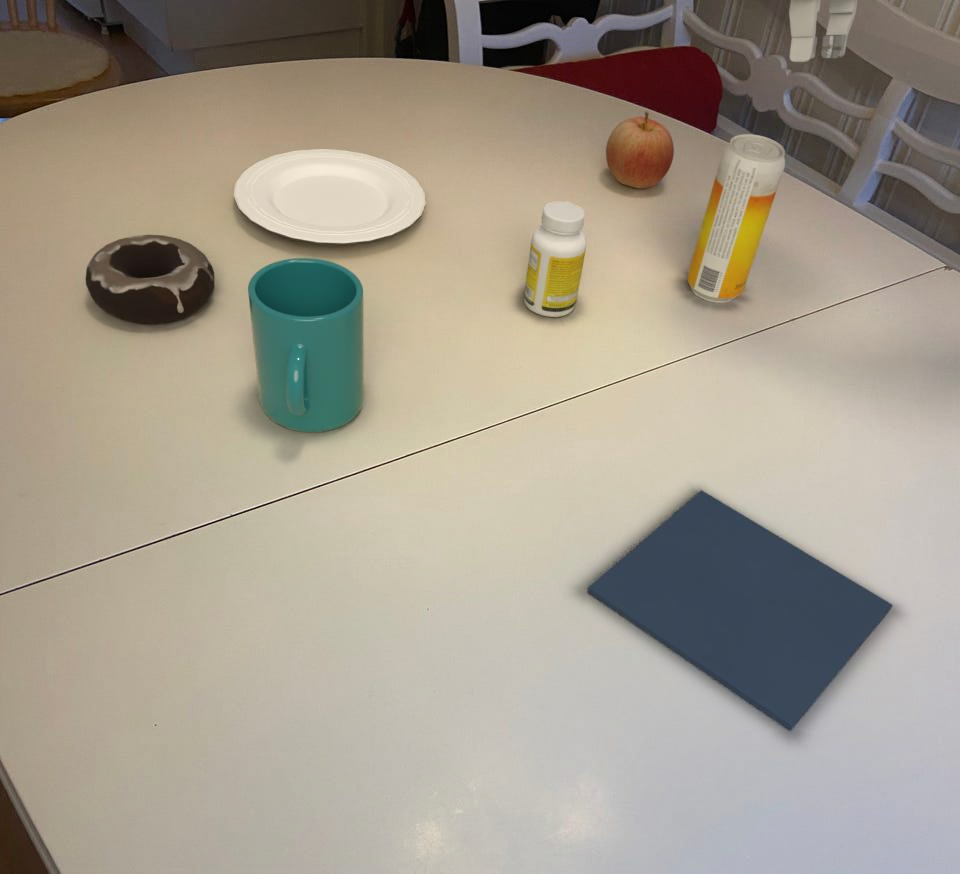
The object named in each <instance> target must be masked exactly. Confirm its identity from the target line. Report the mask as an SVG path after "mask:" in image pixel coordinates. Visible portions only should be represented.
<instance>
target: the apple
mask: <svg viewBox="0 0 960 874" xmlns="http://www.w3.org/2000/svg"><path fill="white" fill-rule="evenodd" d="M649 115H650V113H649V111H645V112H644V116H635V117H629V118H626V119H624V120H623V121H621V122H620V123H618V124H617V125H616V126H615V127H614V129H613V130H612V131H611V133H610V135H609V137H608V140H607V143H606V147H605V159H606V164H607V167H608V170H609V171H610V173H611V175H612V176H613V177H614V179H615V180H616V181H618V182H619V183H620V184H622V185H625V186H629V187H632V188H635V189H646V188H651V187H654V186H655V185H657V184H658V183H660V182H661V181H662V180H663V179H664V177H665V176H666V175H667V173H668V172H669V171H670V168H671V166H672V163H673V160H674V154H675V149H674V148H675V147H674V146H675V145H674V142H673V138H672V135H671V133H670V131H669V129H667V128H666V127H665V126H664V125H663V124H661V123H660V122H658V121H657V120H655V119H651V118H649Z"/></svg>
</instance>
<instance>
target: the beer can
mask: <svg viewBox="0 0 960 874" xmlns="http://www.w3.org/2000/svg"><path fill="white" fill-rule="evenodd" d="M785 153H786V150H785V148H784V146H783V145H782V144H780V143H779V142H778V141H775V140H773V139H772V138H769V137H767V136H763V135H758V134H753V133H744V134H737V135H735V136H733V137H732V138H731V139H730V140H729V143H728V144H727V145H726V146H725V147H724V149H723V150H722V153H721V157H720V160H719V164H718V167H717V170H716V173H715V178H714V180H713V185H712V188H711V192H710V195H709V199H708V203H707V205H706V209H705V213H704V217H703V220H702V224H701V227H700V231H699V234H698V238H697V241H696V245H695V248H694V252H693V256H692V259H691V261H690V266H689V269H688V274H687V282H688V284H689V287H690V290H691V291H692V293H693V294H694V295H695V296H696V297H698V298H700V299H702V300H704V301H707V302H711V303H716V304H717V303H718V304H721V303H722V304H723V303H728V302H731V301H733V300H735V299H736V298H737V297H738V296H740V295H741V294H742V293H743V292H744V289H745V286H746V285H747V280H748V277H749V275H750V271H751V268H752V265H753V263H754V260H755V257H756V253H757V251H758V247H759V245H760V241H761V238H762V236H763V233H764V230H765V227H766V224H767V221H768V219H769V215H770V212H771V209H772V206H773V204H774V200H775V198H776V197H775V196H776V194H777V191H778V189H779V186H780V183H781V179H782V176H783V174H784V170H785V168H786V167H785V166H786V160H785Z"/></svg>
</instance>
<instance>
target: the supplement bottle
mask: <svg viewBox="0 0 960 874" xmlns="http://www.w3.org/2000/svg"><path fill="white" fill-rule="evenodd" d="M585 216H586V213H585V210H584V209H583V208H582V206H580V205H578V204H576V203H573V202H570V201H566V200H554V201H550V202H548V203H546V204H545V205H544V206H543V209H542V215H541V224H540V225H538V227H536V229H535V230H534V231H533V233H532V235H531V239H530V246H529V247H530V248H529V254H528V261H527V269H526V275H525V276H526V277H525V282H524V283H525V284H524V291H523V302H524V305H525V307H526V308H527V309H528V310H530V311H532V312H533V313H535V314H537V315H539V316H544V317H551V318H557V317H563V316H566V315H569V314H570V313H572V312H573V311H574V309H575V307H576V304H577V299H578V294H579V289H580V283H581V278H582V273H583V267H584V263H585V262H584V261H585V257H586V252H587V244H588V243H587V237H586V235H585V233H584V232H583V231H582V230H583V227H584V221H585Z"/></svg>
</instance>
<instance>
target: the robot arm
mask: <svg viewBox="0 0 960 874" xmlns="http://www.w3.org/2000/svg"><path fill="white" fill-rule="evenodd" d="M858 1H859V0H830V1H829V8H828V14H829V18H828V22H827V29H826V33H825V35H823V37H822V45H821V46H822V47H821V53H820V54H821V57H822V58H823V59H840V58H842V57H844V56H845V53H846V47H847V43H848V42H847V41H848V36H849V33H850V31H851V27H852V25H853V22H854V19H855V16H856V13H857V8H858ZM821 2H822V0H790V3H789V11H788V17H789V27H790V37H791V41H790V48H789V57H788V58H789V60H790V61H791V62H792V63H806V62H807V63H808V62H811V61H813V60H814V59H815V57H816V48H817V46H818V39H819V38H818V36H816V34H817V33H816V32H817V20H818V19H817V17H818V13H820V9H821Z"/></svg>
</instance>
